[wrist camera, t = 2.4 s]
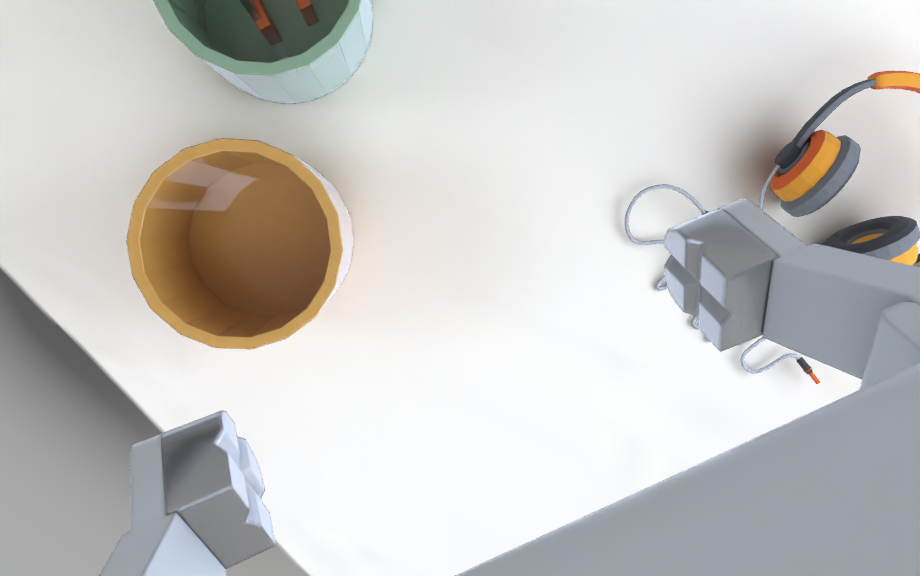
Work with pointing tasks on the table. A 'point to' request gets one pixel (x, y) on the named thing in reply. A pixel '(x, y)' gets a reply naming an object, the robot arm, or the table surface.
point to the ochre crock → (238, 243)
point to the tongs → (265, 24)
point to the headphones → (827, 190)
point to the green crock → (284, 63)
